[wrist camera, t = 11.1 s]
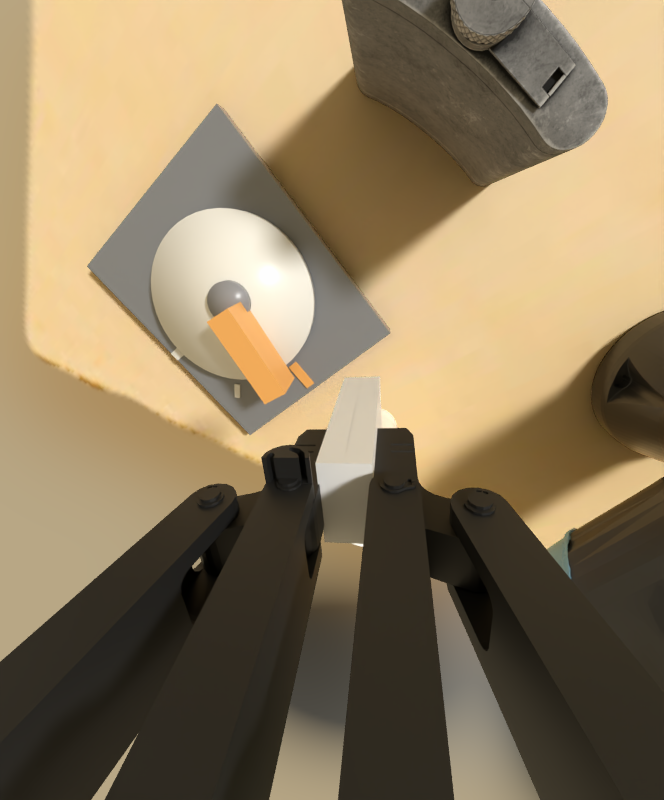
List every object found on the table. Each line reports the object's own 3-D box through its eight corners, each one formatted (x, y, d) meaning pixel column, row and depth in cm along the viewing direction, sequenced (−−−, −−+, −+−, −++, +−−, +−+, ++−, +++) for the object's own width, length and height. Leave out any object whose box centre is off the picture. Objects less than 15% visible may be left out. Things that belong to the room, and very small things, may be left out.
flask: (376, 30, 28) (366, -241, 12) (518, 150, 30) (676, 58, 14) (349, 82, 30) (307, -95, 13) (486, 193, 32) (594, 155, 15)
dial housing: (389, 329, 37) (390, 333, 36) (254, 428, 45) (249, 435, 43) (223, 108, 31) (215, 102, 30) (97, 264, 38) (85, 266, 37)
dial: (125, 268, 36) (87, 274, 32) (252, 169, 31) (229, 158, 27) (230, 409, 42) (211, 432, 37) (353, 343, 37) (348, 360, 32)
